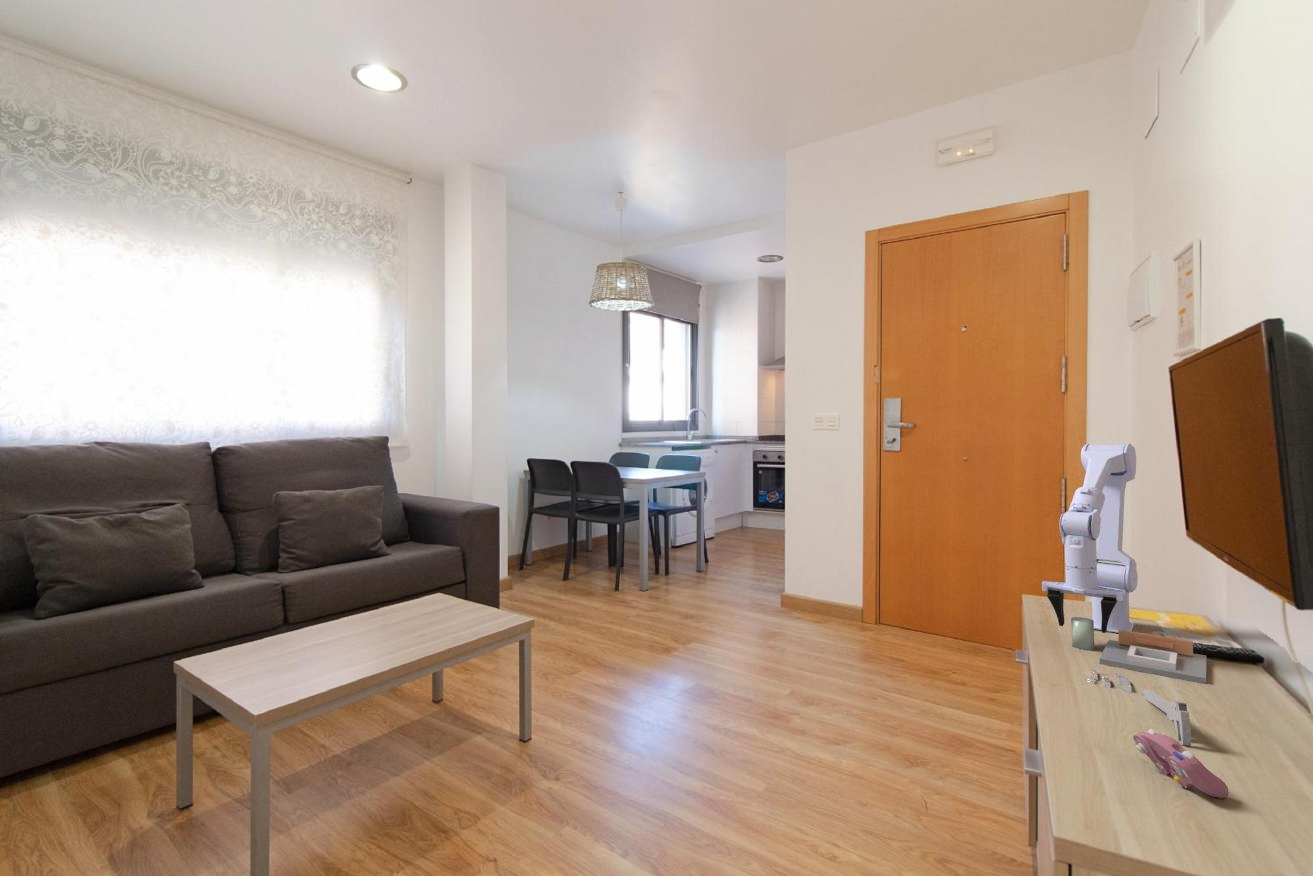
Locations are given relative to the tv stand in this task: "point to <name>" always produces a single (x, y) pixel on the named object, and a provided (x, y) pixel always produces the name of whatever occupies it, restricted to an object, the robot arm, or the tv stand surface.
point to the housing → (1155, 661)
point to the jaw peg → (1082, 633)
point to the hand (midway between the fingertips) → (1082, 628)
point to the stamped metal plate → (1122, 680)
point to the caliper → (1173, 715)
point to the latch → (1156, 642)
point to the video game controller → (1179, 763)
